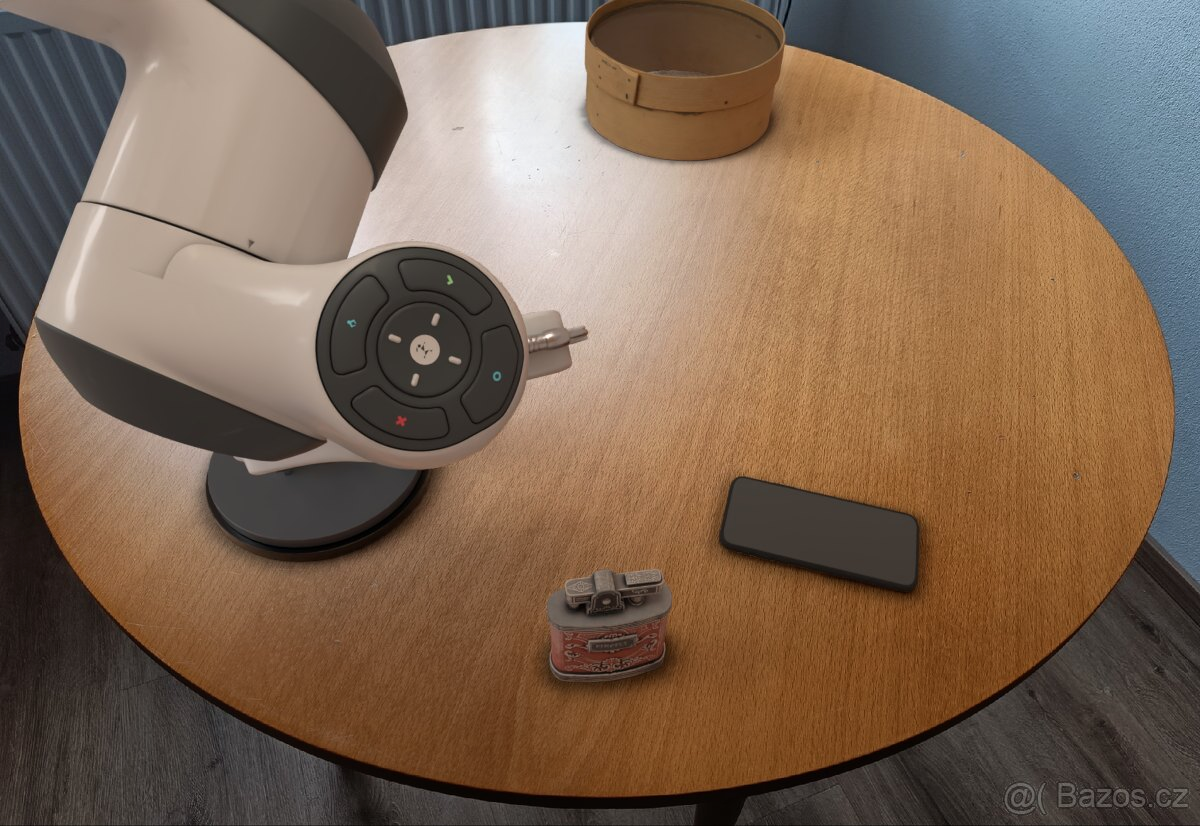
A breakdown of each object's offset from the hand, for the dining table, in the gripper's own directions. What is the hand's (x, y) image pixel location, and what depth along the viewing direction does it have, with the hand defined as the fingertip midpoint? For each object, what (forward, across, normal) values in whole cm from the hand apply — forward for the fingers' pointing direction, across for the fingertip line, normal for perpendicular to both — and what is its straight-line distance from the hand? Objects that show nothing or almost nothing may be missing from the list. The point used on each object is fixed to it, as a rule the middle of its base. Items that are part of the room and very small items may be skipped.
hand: (398, 384), depth 57 cm
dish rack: (+15, +7, +4) cm, 17 cm away
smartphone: (+2, -28, +19) cm, 34 cm away
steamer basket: (+48, -46, -28) cm, 72 cm away
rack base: (+16, +7, +5) cm, 18 cm away
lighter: (-1, -9, +22) cm, 24 cm away
